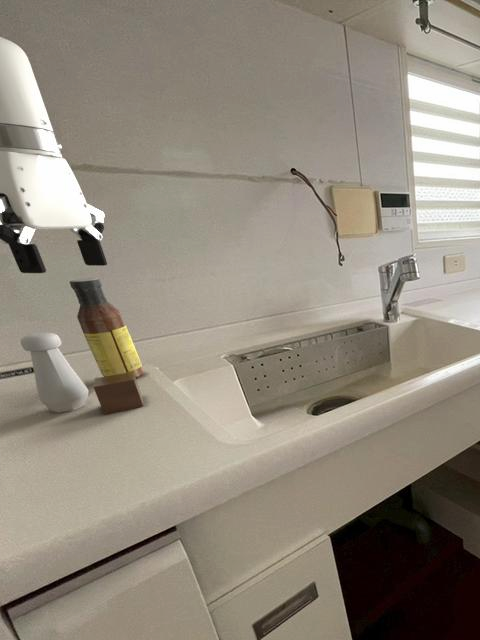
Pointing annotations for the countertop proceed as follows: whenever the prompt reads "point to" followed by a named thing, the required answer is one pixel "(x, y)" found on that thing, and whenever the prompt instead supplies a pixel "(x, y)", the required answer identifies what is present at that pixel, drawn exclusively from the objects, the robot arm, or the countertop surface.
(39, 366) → the salt shaker
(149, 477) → the countertop surface
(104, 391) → the walnut block
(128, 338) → the sauce bottle
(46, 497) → the countertop surface
